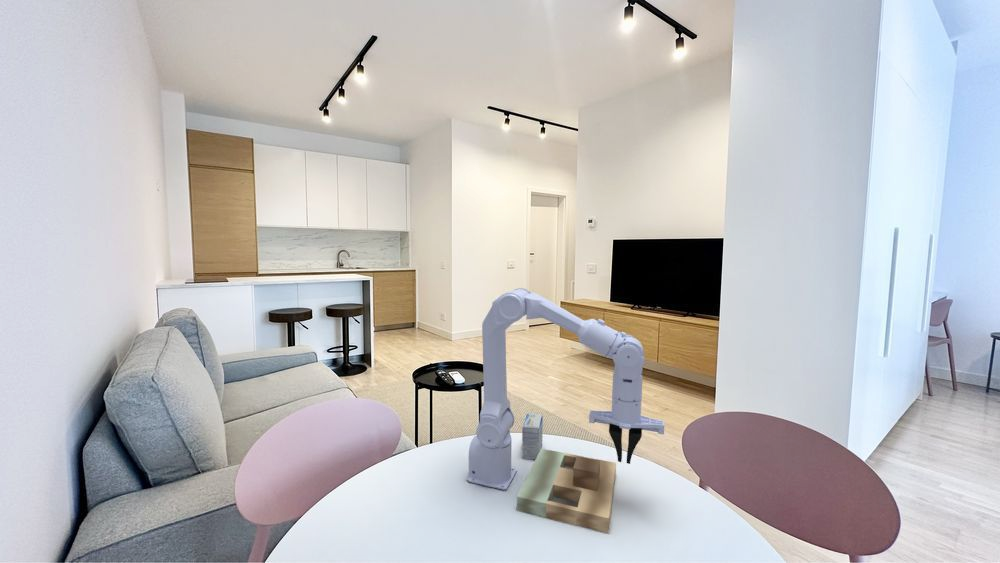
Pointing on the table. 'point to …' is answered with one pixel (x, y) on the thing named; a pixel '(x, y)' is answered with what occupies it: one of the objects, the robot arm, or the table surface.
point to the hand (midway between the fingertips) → (624, 460)
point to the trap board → (567, 492)
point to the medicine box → (532, 436)
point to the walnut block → (586, 473)
